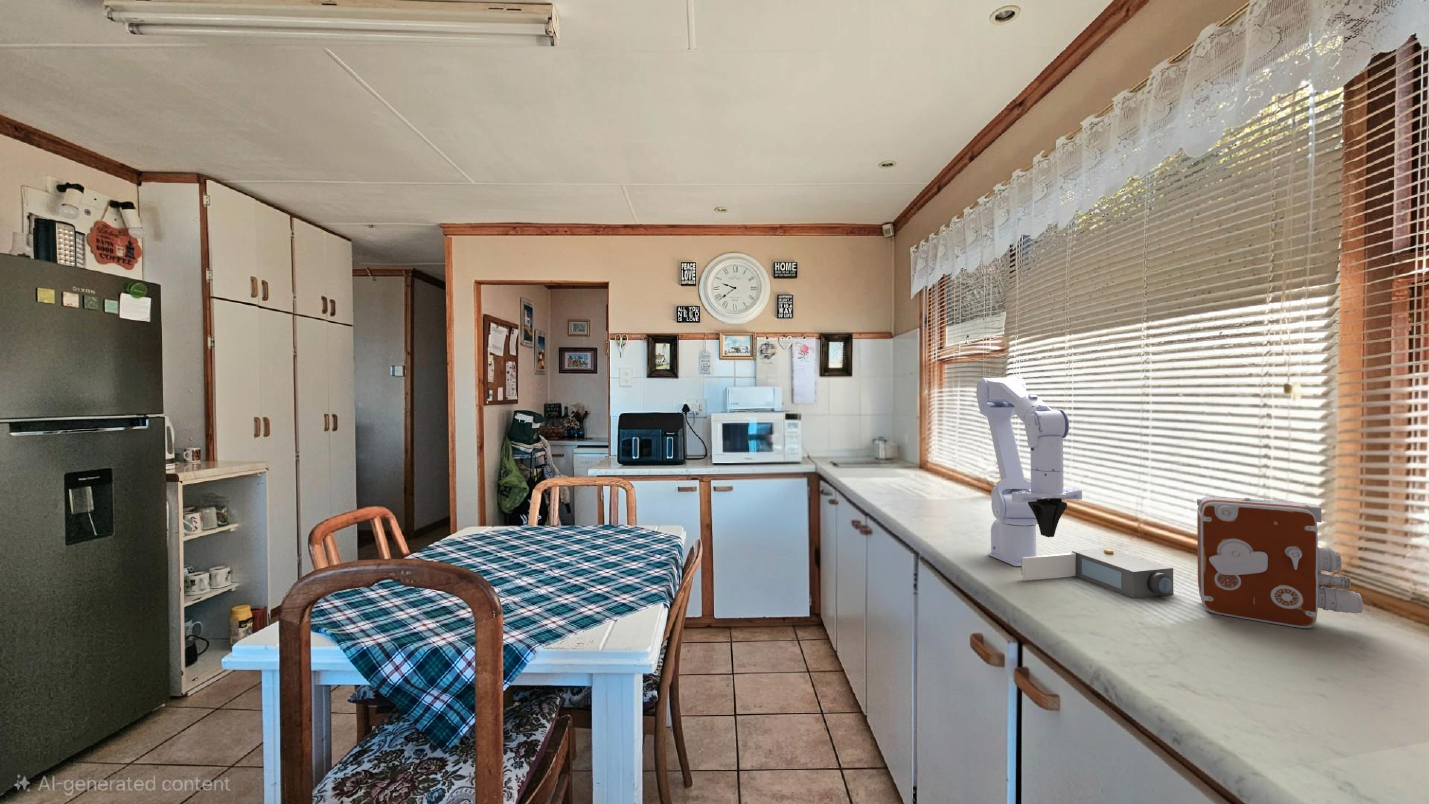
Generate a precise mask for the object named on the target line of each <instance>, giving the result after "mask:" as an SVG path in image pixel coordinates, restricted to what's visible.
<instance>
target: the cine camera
mask: <svg viewBox="0 0 1429 804" xmlns="http://www.w3.org/2000/svg"><path fill="white" fill-rule="evenodd" d="M1196 505H1197V511H1196V513H1197V516H1196V520H1197V521H1196V522H1197V525H1196V526H1197V527H1196V528H1197V529H1196V530H1197V531H1196V533H1197V538H1196V539H1197V540H1196V541H1197V585H1198V593H1199V594H1198V595H1199V596H1200V600H1201V603H1202V606H1203V608H1204V609H1205V610H1206V611H1207V612H1209V613H1212V614H1215V615H1221V616H1224V617H1225V616H1226V617H1231V618H1237V619H1243V620H1250V621H1256V622H1261V623H1262V622H1263V623H1267V624H1273V625H1274V624H1275V625H1279V626H1287V627H1293V628H1299V629H1310V628H1313V627H1315V625H1316V623H1317V621H1318V620H1317V618H1318V612H1319V611H1318V610H1319V609H1322V610H1323V611H1332V612H1336V613H1346V614H1348V613H1350V614H1355V615H1356V614H1362V613H1363V609H1364V603H1363V598H1362V596H1361V594H1360V593H1359V592H1355V591H1351V590H1347V589H1351V586H1352V583H1351V578H1350V577H1349V576H1342V575H1338V576H1337V575H1331V574H1327V573H1325V574H1324V573H1320V572H1321V571H1323V572H1324V571H1325V572H1328V573H1332V574H1333V573H1334V572H1335V571H1341V570H1342V565H1343V564H1342V562H1343V561H1342V557H1341V556H1342V555H1341V554H1340V552H1339V551H1335V550H1333V549H1332V547H1326V548H1325V547H1319V546H1318V545H1319V544H1318V541H1319V540H1318V539H1319V538H1318V536H1319V535H1318V534H1319V532H1318V531H1319V530H1318V528H1319V527H1318V523H1322V507H1321V506H1319V505H1318V504H1315V503H1304V502H1292V501H1281V500H1272V499H1271V500H1268V499H1254V498H1253V499H1252V498H1250V497H1244V498H1243V497H1242V498H1241V497H1227V496H1204V497H1201V499H1200V498H1197V499H1196ZM1320 586H1321V587H1320ZM1331 586H1333V587H1331ZM1337 587H1340V589H1339V588H1337Z"/></svg>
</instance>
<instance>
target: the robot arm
mask: <svg viewBox="0 0 1429 804" xmlns="http://www.w3.org/2000/svg"><path fill="white" fill-rule="evenodd" d="M975 391H976V392H975V394H976V400H977V405H978V409H979V411H980V414H981V415H982V416H983V417H986V419H987V421H988V426H989V430H990V435H991V439H992V444H993V449H994V452H995V456H996V462H997V467H998V468H997V469H998V470H999V476H1000V480H1001V481H1000V482H998V483H997V484H996V485H995V486H993V488H992V489H991V492H990V495H991V496H990V497H991V511H992V514H993V516H994V518H995V520H994V521H993V522H992V524H991V528H990V551H991V552H988V553H987V555H988V556H991V557H993V558H996V559H998V560H1000V561H1002V562H1004V563H1007V564H1009V565H1012V566H1014V567H1022V563H1021V559H1022V557H1032V556H1037V525H1038V529H1039V531H1040V532H1039V533H1040V535H1041V536H1043V537H1046V538H1054V537H1055V535H1056V530H1057V528H1058V524H1059V522H1060V519H1061V517H1062V516H1063V513H1064V512H1065V511H1066V510H1067V509H1068V503H1067V502H1066V501H1067V500H1077V501H1078V500H1082V499H1083V490H1082V489H1079V488H1064V439H1065V438H1067V436H1068V435H1069V431H1070V421H1069V420H1070V419H1069V417H1068V415H1067V413H1066V412H1065V410H1064V409H1057V410H1056V409H1055V410H1054V409H1052V408H1051V407H1049V406H1048V405H1047V404H1046V403H1045V402H1044V401H1043V400H1042V399H1040V397H1039V396H1038V395H1037V394H1028V392H1027V386H1026V382H1025V380H1024V378H1022V377H1021V376H1014V377H981V378H980V379H979V380H978V381H977V383H976V390H975ZM1014 416H1016V417H1018V418H1019V420H1020V421H1021V422H1022V424H1024V429H1025V430H1024V431H1025V434H1026V438H1027V446H1028V447H1029V448H1030V481H1029V480H1028V479H1027V478H1025V475H1024V471H1023V467H1022V461H1021V458H1020V457H1021V456H1020V453H1019V449H1018V444H1017V441H1016V437H1015V431H1014V430H1013V425H1012V420H1011V419H1012V417H1014ZM1063 500H1066V501H1063Z"/></svg>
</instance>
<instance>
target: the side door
mask: <svg viewBox="0 0 1429 804" xmlns="http://www.w3.org/2000/svg"><path fill="white" fill-rule="evenodd" d="M1021 563H1022V566H1021V579H1022V580H1024V581H1029V580H1041V579H1051V578H1062V577H1063V578H1064V577H1072V576H1075V577H1077V576H1076V553H1072V552H1067V553H1057V554H1044V555H1043V554H1042V555H1036V556H1032V557H1022V559H1021Z"/></svg>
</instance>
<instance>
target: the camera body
mask: <svg viewBox="0 0 1429 804" xmlns="http://www.w3.org/2000/svg"><path fill="white" fill-rule="evenodd" d="M1071 553H1076V576H1075V577H1078V578H1081V579H1083V580H1086V581H1087V582H1088V581H1089V582H1091V583H1092V584H1093V583H1094V584H1096V585H1099V586H1101V587H1103V588H1106V589H1108V590H1111V591H1114V592H1116V593H1118V594H1119V593H1120V594H1122V595H1124V596H1127V597H1130V598H1132V599H1141V598H1149V597H1158V596H1162V597H1163V596H1164V597H1165V596H1169V595H1174V567H1172V566H1168V565H1166V564H1161V563H1158V562H1155V561H1152V560H1148V559H1145V558H1142V557H1140V556H1136V555H1132V554H1129V553H1126V552H1123V551H1120V550H1116V549H1113V548H1109V547H1105V548H1104V547H1103V548H1092V549H1080V550H1079V549H1078V550H1072V551H1071Z"/></svg>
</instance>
